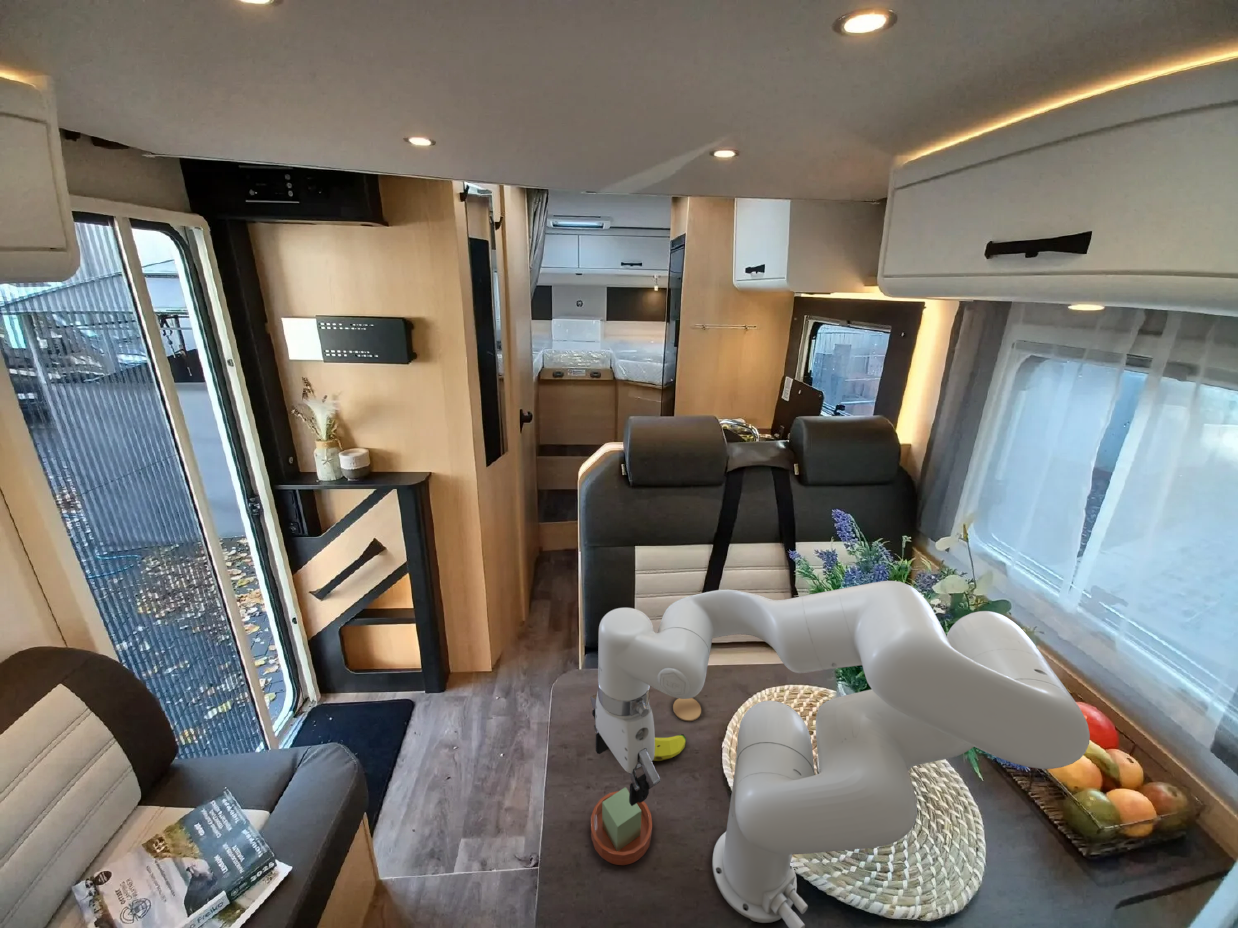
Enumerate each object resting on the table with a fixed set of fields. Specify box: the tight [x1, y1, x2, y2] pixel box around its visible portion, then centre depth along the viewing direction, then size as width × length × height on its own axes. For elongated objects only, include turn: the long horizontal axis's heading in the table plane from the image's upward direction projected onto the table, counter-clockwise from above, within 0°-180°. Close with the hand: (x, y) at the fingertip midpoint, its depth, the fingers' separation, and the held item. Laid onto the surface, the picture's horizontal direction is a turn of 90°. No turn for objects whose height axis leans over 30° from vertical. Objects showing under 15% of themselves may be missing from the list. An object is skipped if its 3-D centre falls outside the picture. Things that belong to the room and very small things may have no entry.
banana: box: [652, 733, 687, 762], centre depth 97 cm, size 5×17×15 cm
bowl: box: [590, 790, 653, 866], centre depth 80 cm, size 10×10×3 cm
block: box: [602, 786, 641, 851], centre depth 79 cm, size 5×5×6 cm
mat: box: [672, 697, 702, 722], centre depth 103 cm, size 6×6×1 cm
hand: (620, 772), depth 76 cm, fingers open, 9 cm apart
